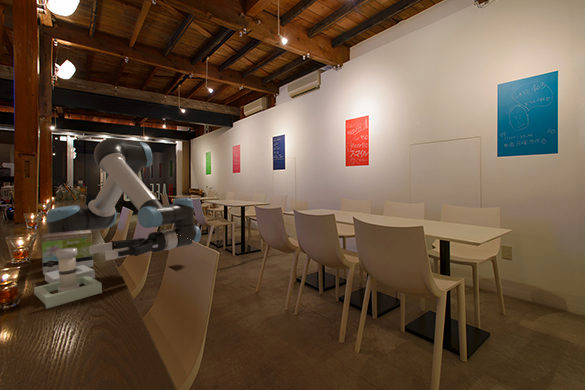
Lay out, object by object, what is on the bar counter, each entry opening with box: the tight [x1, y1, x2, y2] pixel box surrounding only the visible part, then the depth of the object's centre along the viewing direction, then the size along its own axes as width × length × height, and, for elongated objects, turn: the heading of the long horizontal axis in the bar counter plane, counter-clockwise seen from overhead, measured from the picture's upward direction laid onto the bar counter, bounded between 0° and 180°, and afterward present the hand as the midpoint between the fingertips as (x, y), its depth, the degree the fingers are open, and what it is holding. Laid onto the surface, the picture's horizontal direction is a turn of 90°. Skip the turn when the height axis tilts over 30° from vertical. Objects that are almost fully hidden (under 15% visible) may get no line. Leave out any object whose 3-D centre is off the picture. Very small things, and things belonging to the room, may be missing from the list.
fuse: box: [56, 248, 80, 293], centre depth 83 cm, size 5×5×13 cm
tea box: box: [41, 230, 94, 276], centre depth 108 cm, size 15×10×15 cm, turn 129°
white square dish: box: [44, 265, 96, 284], centre depth 95 cm, size 11×11×4 cm
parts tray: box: [33, 275, 103, 310], centre depth 83 cm, size 13×13×3 cm
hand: (97, 253), depth 89 cm, fingers open, 13 cm apart
